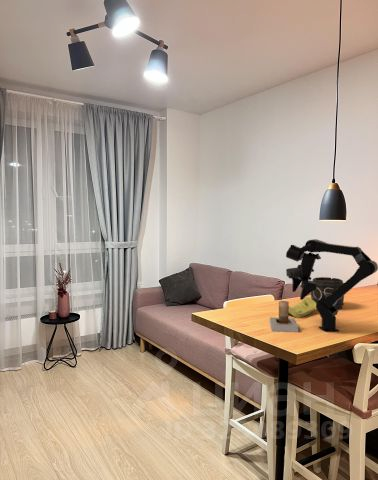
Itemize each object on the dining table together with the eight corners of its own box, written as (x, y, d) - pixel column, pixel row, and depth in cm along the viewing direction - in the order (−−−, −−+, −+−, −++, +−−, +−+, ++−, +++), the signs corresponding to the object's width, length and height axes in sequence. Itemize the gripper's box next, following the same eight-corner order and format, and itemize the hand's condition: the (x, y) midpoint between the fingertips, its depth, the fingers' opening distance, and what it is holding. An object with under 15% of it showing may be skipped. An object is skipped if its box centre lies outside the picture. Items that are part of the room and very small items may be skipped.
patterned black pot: (323, 311, 196) (324, 283, 195) (304, 304, 213) (304, 277, 213) (351, 309, 201) (352, 281, 200) (330, 302, 218) (331, 276, 217)
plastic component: (299, 314, 182) (284, 303, 188) (294, 326, 185) (279, 314, 192) (320, 305, 195) (305, 294, 201) (315, 316, 198) (300, 305, 204)
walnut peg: (290, 328, 166) (290, 302, 166) (281, 329, 165) (281, 303, 165) (285, 325, 171) (285, 300, 170) (276, 326, 170) (277, 301, 169)
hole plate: (294, 324, 173) (294, 317, 173) (298, 332, 162) (298, 324, 161) (269, 323, 175) (269, 317, 174) (271, 330, 163) (271, 323, 163)
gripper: (283, 256, 177) (274, 285, 181) (299, 269, 160) (289, 301, 163) (304, 260, 179) (295, 288, 183) (322, 273, 161) (311, 305, 165)
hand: (297, 295), depth 173 cm, fingers open, 9 cm apart
